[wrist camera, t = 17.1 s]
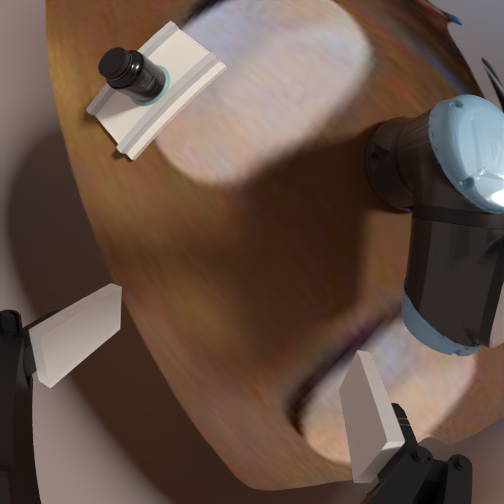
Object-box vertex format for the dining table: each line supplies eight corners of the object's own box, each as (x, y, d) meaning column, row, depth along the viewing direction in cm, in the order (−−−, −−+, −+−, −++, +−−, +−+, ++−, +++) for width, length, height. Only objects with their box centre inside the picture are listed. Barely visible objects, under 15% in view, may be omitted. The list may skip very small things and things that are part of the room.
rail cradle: (172, 25, 40) (165, 17, 36) (227, 68, 40) (223, 61, 37) (92, 108, 45) (82, 105, 41) (134, 160, 46) (125, 158, 42)
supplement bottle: (157, 61, 40) (124, 32, 28) (173, 87, 41) (139, 60, 29) (126, 84, 42) (87, 62, 30) (140, 110, 42) (100, 92, 31)
